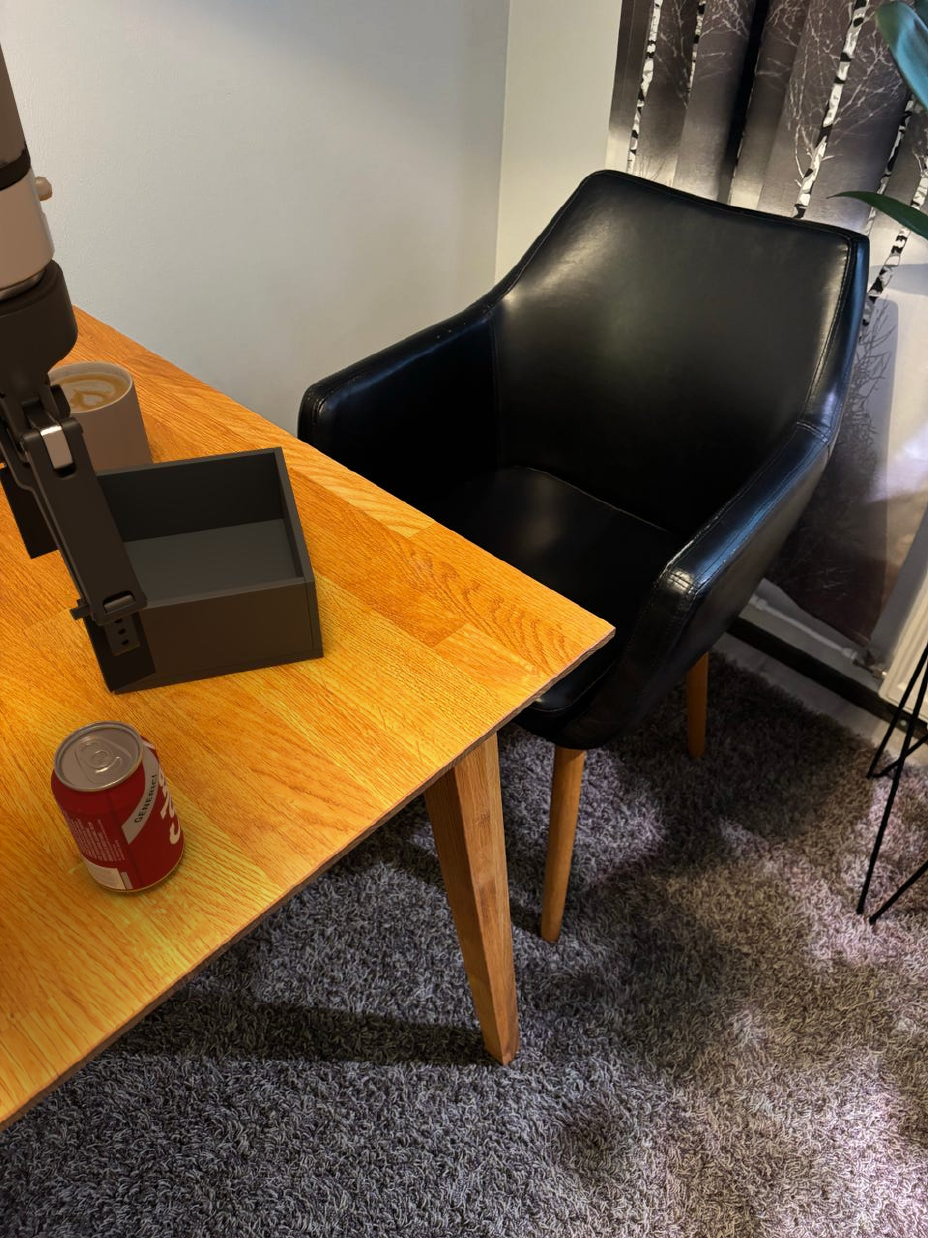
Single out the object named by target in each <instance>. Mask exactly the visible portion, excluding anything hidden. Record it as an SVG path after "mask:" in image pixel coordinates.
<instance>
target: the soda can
mask: <svg viewBox="0 0 928 1238" xmlns="http://www.w3.org/2000/svg"><path fill="white" fill-rule="evenodd" d="M159 757H160V756H159V755H158V751H157V750H156V748H155V746H154V744H153V743H152V742H151V741H150V740H149V739H147V738H146V737H145V736H144V735H142V734H140V733H139V731H138V730H137V729H136V728H135V727H133V726H131V725H130V724H128V723H126V722H124V721H118V720H99V721H94V722H91V723H87V724H85V725H83V726H81V727H79V728H77V729H75V730H74V731H72V732H71V733H69V734H68V735H67V736H66V737H65V738H64V739H63V740H62V741H61V743H60V744H59V745H58V747H57V748H56V750H55V753H54V757H53V769H52V772H51V775H50V776H51V777H50V788H51V792H52V795H53V797H54V799H55V802H56V805H58V808H59V810H60V813H61V815H62V817H63V818H64V821H65V823H66V825H67V827H68V829H69V832H70V833H71V836H72V838H73V840H74V842H75V845H76V847H77V848H78V850H79V853H80V855H81V858H82V859H83V861H84V863H85V866H86V869H87V870H88V872H89V874H90V876H91V877H92V879H93V880H94V881H95V882H96V883H97V884H98V885H100V886H101V887H103V888H105V889H107V890H109V891H113V892H117V893H133V892H138V891H139V892H140V891H143V890H145V889H146V890H147V889H148V888H151V887H153V886H155V885H157V884H158V883H160V882H162V881H163V880H164V879H165V878H167V877H169V875H170V874H171V873H172V872H173V871H174V870H175V869H176V867H177V866H178V864H179V862H180V861H181V859H182V856H183V853H184V849H185V835H184V831H183V828H182V826H181V823H180V819H179V816H178V813H177V810H176V807H175V804H174V800H173V798H172V794H171V791H170V788H169V786H168V782H167V780H166V776H165V773H164V770H163V767H162V764H161V761H160V758H159Z"/></svg>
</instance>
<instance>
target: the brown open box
mask: <svg viewBox="0 0 928 1238" xmlns="http://www.w3.org/2000/svg"><path fill="white" fill-rule="evenodd" d="M95 473H96V476H97V479H98V481H99V484H100V486H101V489H102V491H103V494H104V496H105V499H106V501H107V504H108V506H109V509H110V511H111V514H112V516H113V519H114V521H115V524H116V527H117V529H118V532H119V534H120V537H121V539H122V542H123V544H124V547H125V549H126V552H127V554H128V557H129V559H130V562H131V564H132V567H133V570H134V572H135V575H136V577H137V580H138V582H139V585H140V587H141V590H142V591H144V593H145V595H146V597H147V600H146V601H147V603H148V605H147V608H144V609H142V610H139V614H140V618H141V621H142V624H143V628H144V631H145V635H146V638H147V642H148V645H149V648H150V652H151V655H152V659H153V662H154V666H155V669H156V673H154V674H152V675H150V676H147V677H145V678H143V679H140V680H138V681H136V682H134V683H131V684H129V685H127V686H124V687H122V688H120V689H118V690H115V691H113V693H114V695H119V694H125V693H130V692H136V691H141V690H148V689H153V688H157V687H158V688H159V687H164V686H169V685H175V684H181V683H186V682H191V681H197V680H203V679H208V678H214V677H221V676H225V675H231V674H235V673H237V674H238V673H242V672H248V671H253V670H259V669H264V668H269V667H275V666H281V665H286V664H291V663H298V662H303V661H308V660H313V659H319V658H323V657H324V647H323V637H322V629H321V622H320V621H321V620H320V611H319V602H318V594H317V585H316V579H315V575H314V571H313V567H312V563H311V559H310V554H309V551H308V547H307V542H306V539H305V535H304V529H303V526H302V523H301V518H300V515H299V511H298V506H297V502H296V499H295V495H294V490H293V487H292V483H291V477H290V474H289V471H288V466H287V462H286V459H285V455H284V451H283V447H282V446H280V445H279V446H273V447H266V448H258V449H251V450H243V451H235V452H228V453H219V454H212V455H206V456H205V455H204V456H198V457H191V458H189V457H188V458H183V459H176V460H168V461H167V460H166V461H161V462H153V463H152V464H145V465H137V466H130V467H122V468H115V469H107V470H100V471H95Z"/></svg>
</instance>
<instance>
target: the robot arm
mask: <svg viewBox="0 0 928 1238" xmlns="http://www.w3.org/2000/svg"><path fill="white" fill-rule="evenodd" d="M9 74H10V73H9V71H8V67H7V64H6V59H5V56H4V52H3V48H2V44H1V43H0V464H3V467H0V484H1V487H2V490H3V492H4V495H5V498H6V500H7V503H8V505H9V508H10V510H11V511H10V512H11V513H12V516H13V519H14V522H15V524H16V526H17V529H18V532H19V534H20V537H21V540H22V543H23V545H24V547H25V550H26V552H27V555H28V556H29V558H30V560H34V559H37V558H40V557H42V556H45V555H48V554H50V553H53V552H56V551H58V552H59V554H60V556H61V558H62V561H63V563H64V565H65V567H66V569H67V572H68V573H69V576H70V578H71V580H72V582H73V585H74V587H75V589H76V591H77V593H78V596H79V598H78V599H76V601H75V602H76V604H77V606H76V607H73V608H71V609H69V610H68V611H69V613H70V615H71V617H72V619H73V620H74V622H76V621H78V620H81V619H82V622H83V624H84V627H85V629H86V633H87V636H88V638H89V641H90V644H91V648H92V649H93V652H94V655H95V658H96V661H97V664H98V667H99V670H100V672H101V675H102V678H103V682H104V684H105V686H106V689H108V691H109V693H114V691H115V690H118V689H120V688H122V687H124V686H127V685H129V684H131V683H134V682H136V681H138V680H140V679H143V678H145V677H147V676H150V675H152V674H154V673H156V669H155V666H154V662H153V659H152V655H151V652H150V648H149V645H148V642H147V638H146V635H145V631H144V628H143V624H142V621H141V618H140V614H139V610H142V609H144V608H147V605H148V603H147V601H146V600H147V597H146V595H145V593H144V591H142V590H141V587H140V585H139V582H138V580H137V577H136V575H135V572H134V570H133V567H132V564H131V562H130V559H129V557H128V554H127V552H126V549H125V547H124V544H123V542H122V539H121V537H120V534H119V532H118V529H117V527H116V524H115V521H114V519H113V516H112V514H111V511H110V509H109V506H108V504H107V501H106V499H105V496H104V494H103V491H102V489H101V486H100V484H99V481H98V479H97V476H96V473H95V471H94V468H93V466H92V463H91V460H90V457H89V454H88V450H87V447H86V444H85V441H84V438H83V435H82V433H83V429H82V426H81V424H80V423H78V422H77V420H76V418H74V417H73V416H71V417H70V412H71V409H70V405H69V403H68V401H67V399H66V396H65V394H64V392H63V390H62V388H61V386H60V385H59V384H55V385H52V386H51V383H50V378H49V375H48V372H49V371H50V370H52V369H53V368H54V367H55V366H57V364H58V363H59V362H61V361H63V360H64V359H65V358H66V357H67V356H68V355H69V354H70V353H71V352H72V351H73V349H74V347H75V345H76V343H77V340H78V337H79V326H78V323H77V318H76V315H75V312H74V308H73V304H72V300H71V296H70V293H69V290H68V286H67V282H66V279H65V275H64V271H63V269H62V267H61V265H60V264H59V263H58V262H57V261H56V260H54V259H53V258H54V256H55V252H56V249H55V244H54V240H53V236H52V233H51V229H50V226H49V225H50V224H49V222H48V217H47V214H46V213H45V212H44V211H43V206H42V204H41V202H45V201H48V200H49V199H51V198H52V197H53V187H52V183H51V182H50V181H49V180H48V178H47V177H46V176H39V175H38V176H36V174H35V172H34V169H33V165H32V160H31V159H32V158H31V155H30V151H29V147H28V144H27V140H26V139H27V138H26V136H25V133H24V128H23V125H22V121H21V116H20V113H19V110H18V106H17V101H16V97H15V94H14V90H13V86H12V82H11V79H10V75H9Z"/></svg>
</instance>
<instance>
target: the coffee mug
mask: <svg viewBox="0 0 928 1238" xmlns="http://www.w3.org/2000/svg"><path fill="white" fill-rule="evenodd" d="M48 375H49V378H50V383H51V386H52V385H55V384H59V385H60V386H61V388H62V390H63V392H64V394H65V396H66V399H67V401H68V403H69V405H70V409H71V412H70V417H71V416H73V417H74V418H76V420H77V422H78V423H80V424H81V426H82V429H83V433H82V435H83V438H84V441H85V444H86V447H87V450H88V454H89V457H90V460H91V463H92V466H93V468H94V471H100V470H107V469H115V468H122V467H130V466H137V465H145V464H152V463H154V460H153V456H152V452H151V447H150V443H149V439H148V435H147V431H146V426H145V423H144V419H143V418H144V417H143V414H142V410H141V406H140V402H139V397H138V394H137V389H136V385H135V382H134V379H133V376H132V374H131V372H130V371H129V370H128V369H126V368H125V367H123V366H122V365H119V364H116V363H112V362H108V361H102V360H84V361H77V362H71V363H67V364H63V365H60V366H58V367H55V368H54V367H53V368H51V370H50V371H49V372H48Z"/></svg>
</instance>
